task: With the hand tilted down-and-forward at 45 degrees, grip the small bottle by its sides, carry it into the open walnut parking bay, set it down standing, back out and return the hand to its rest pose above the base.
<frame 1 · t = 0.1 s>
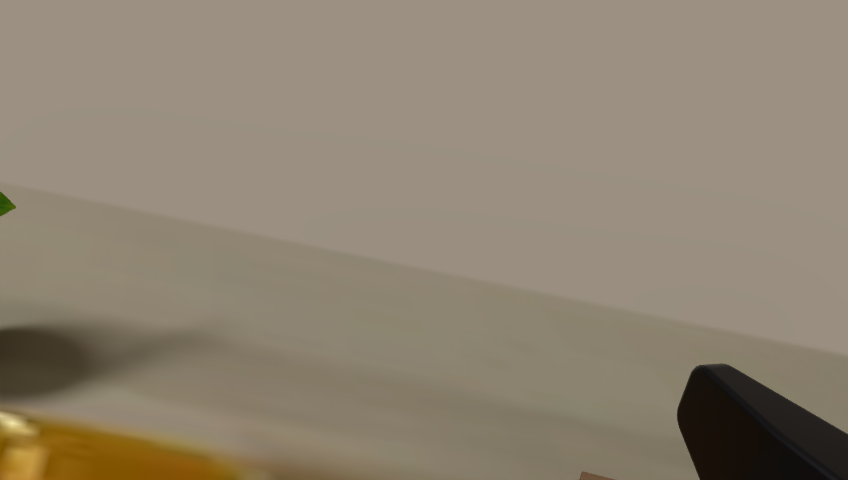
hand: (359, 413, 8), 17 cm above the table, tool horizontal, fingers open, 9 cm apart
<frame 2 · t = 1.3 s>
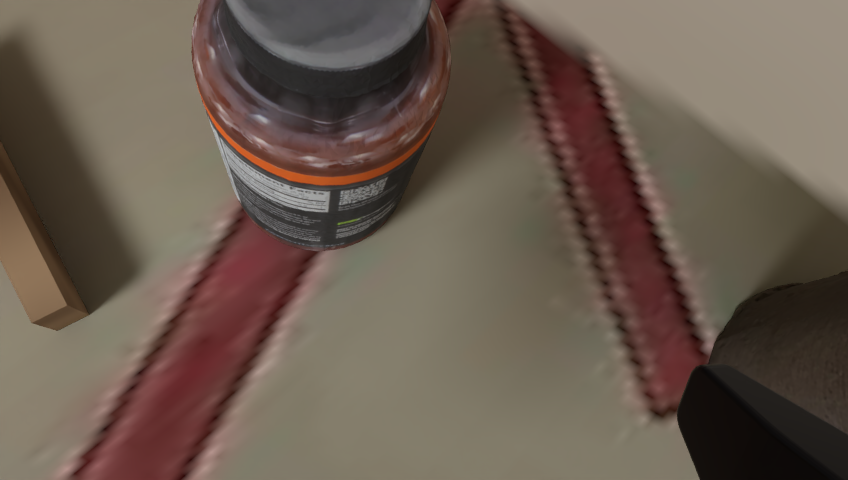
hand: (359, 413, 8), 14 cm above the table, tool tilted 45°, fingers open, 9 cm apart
pillar candle: (817, 416, 24), on the table
supplement bottle: (318, 175, 23), on the table
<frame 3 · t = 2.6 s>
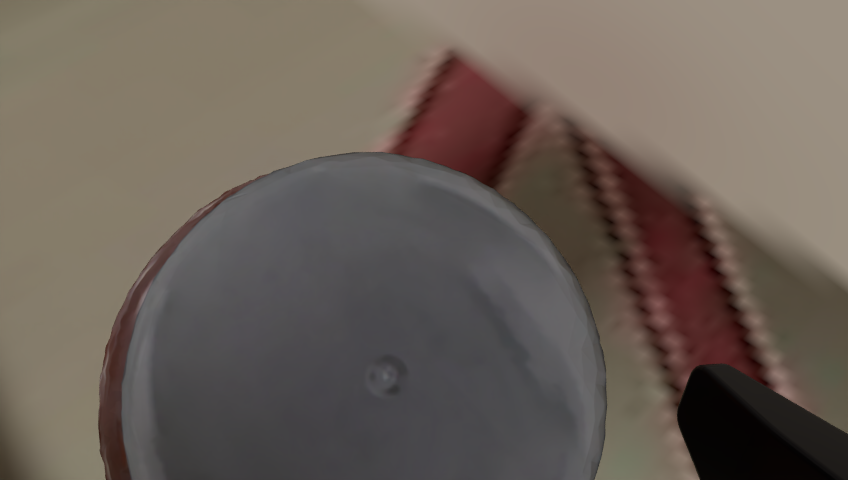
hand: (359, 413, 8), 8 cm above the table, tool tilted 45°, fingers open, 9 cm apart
supplement bottle: (330, 397, 16), on the table
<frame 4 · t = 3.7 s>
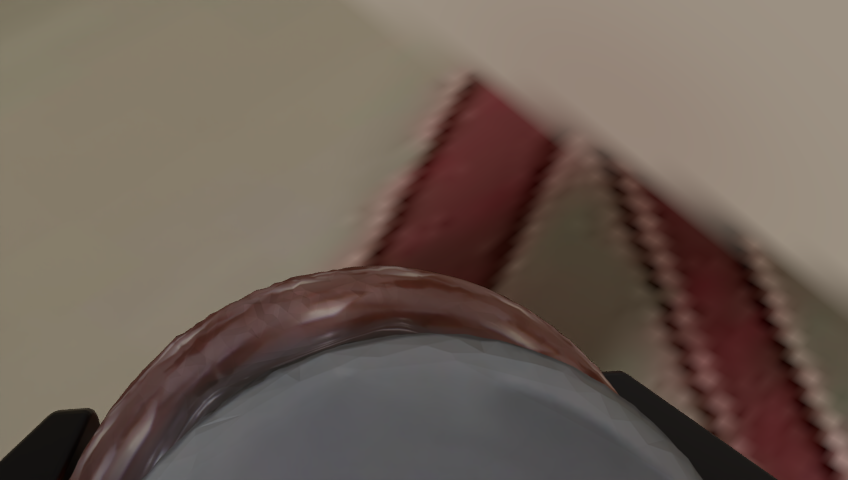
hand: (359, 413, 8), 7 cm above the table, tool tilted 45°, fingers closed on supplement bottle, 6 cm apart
supplement bottle: (338, 474, 14), on the table, touching gripper
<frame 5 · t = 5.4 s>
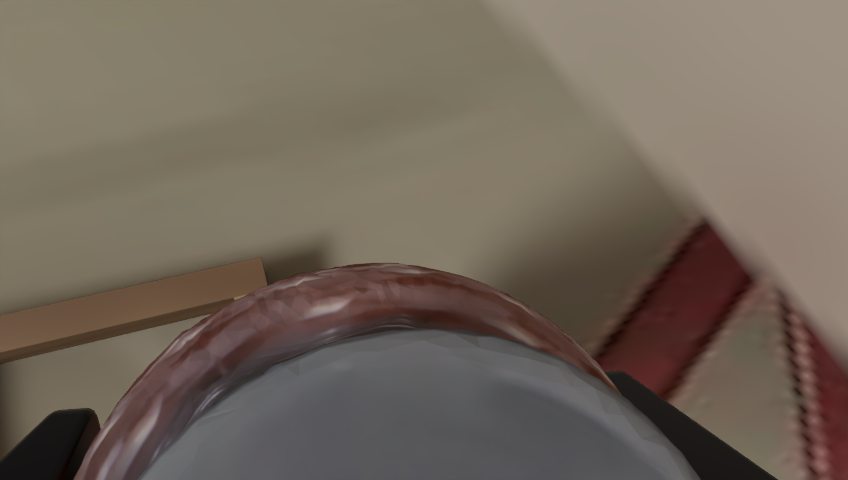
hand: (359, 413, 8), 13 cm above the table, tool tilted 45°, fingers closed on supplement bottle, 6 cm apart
supplement bottle: (344, 470, 14), point 6 cm above the table, touching gripper
when the fingers open (8 cm above the table, at t = 7.3 s): supplement bottle stays where it is, on the table.
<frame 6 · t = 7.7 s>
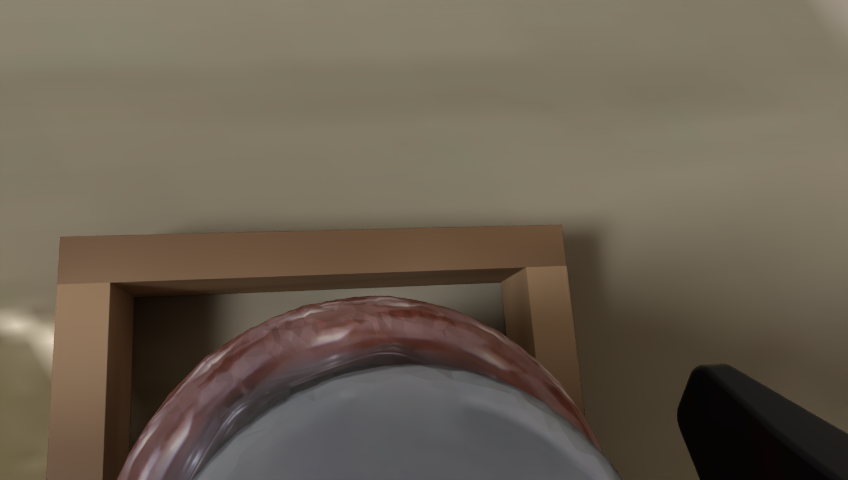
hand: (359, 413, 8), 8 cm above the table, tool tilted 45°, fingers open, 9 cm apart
bay: (333, 469, 15), on the table
supplement bottle: (338, 473, 15), on the table
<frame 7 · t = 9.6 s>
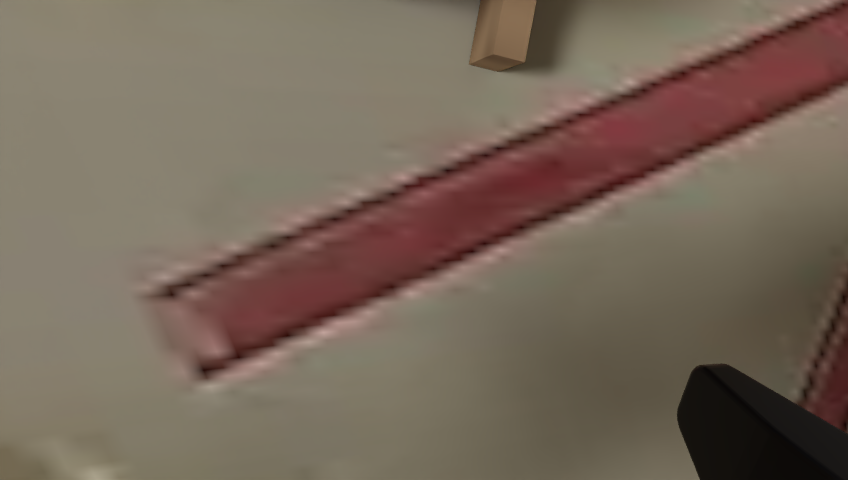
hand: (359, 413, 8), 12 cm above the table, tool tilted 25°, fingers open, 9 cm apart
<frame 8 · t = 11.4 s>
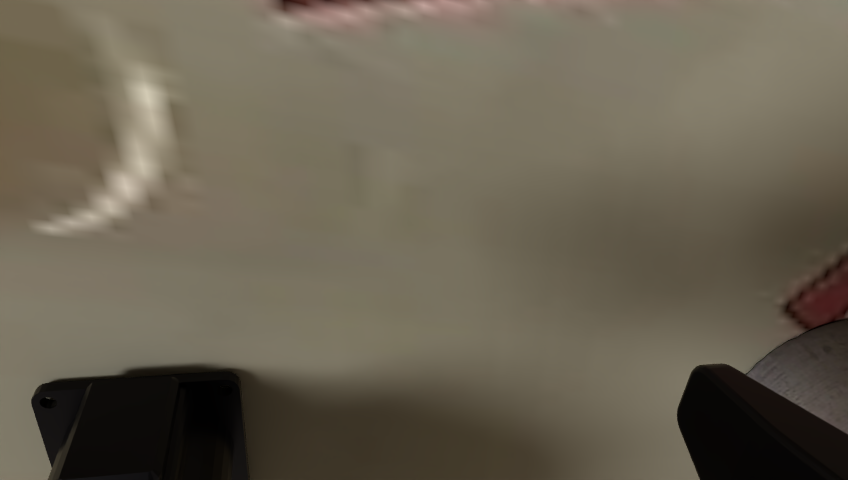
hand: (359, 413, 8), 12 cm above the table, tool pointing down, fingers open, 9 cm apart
pillar candle: (810, 398, 30), on the table
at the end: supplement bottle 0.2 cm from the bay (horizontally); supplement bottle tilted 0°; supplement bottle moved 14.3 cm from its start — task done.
